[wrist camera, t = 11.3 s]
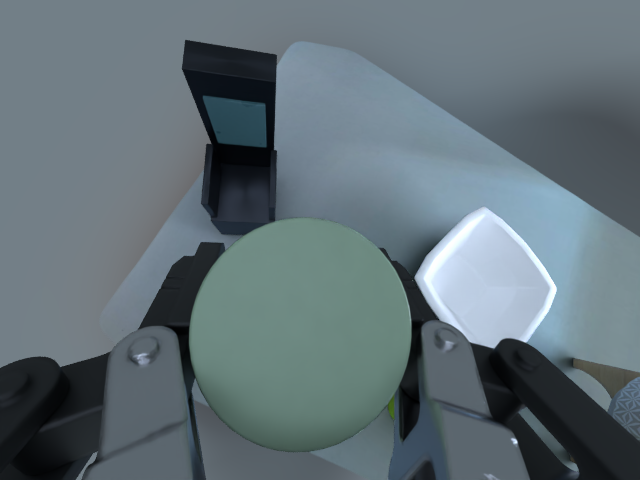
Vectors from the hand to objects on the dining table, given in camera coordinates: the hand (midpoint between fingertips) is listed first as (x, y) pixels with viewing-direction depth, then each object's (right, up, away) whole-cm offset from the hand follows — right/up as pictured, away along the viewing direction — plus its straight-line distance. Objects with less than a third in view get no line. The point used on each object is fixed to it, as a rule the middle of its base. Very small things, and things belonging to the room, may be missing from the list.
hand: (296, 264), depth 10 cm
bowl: (+28, -8, +42) cm, 52 cm away
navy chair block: (-12, +8, +37) cm, 40 cm away
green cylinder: (-2, -4, +11) cm, 12 cm away
